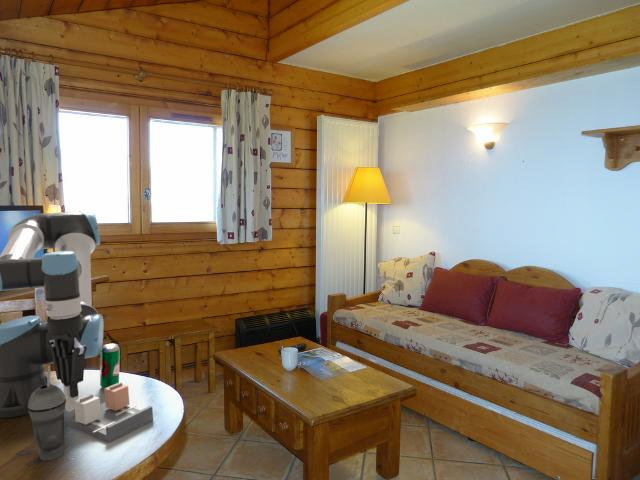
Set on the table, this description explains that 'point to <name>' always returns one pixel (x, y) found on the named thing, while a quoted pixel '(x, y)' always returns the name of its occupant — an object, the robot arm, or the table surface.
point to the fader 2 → (116, 396)
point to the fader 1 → (87, 409)
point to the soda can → (109, 365)
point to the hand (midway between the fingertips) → (72, 408)
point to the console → (114, 422)
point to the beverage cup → (48, 419)
